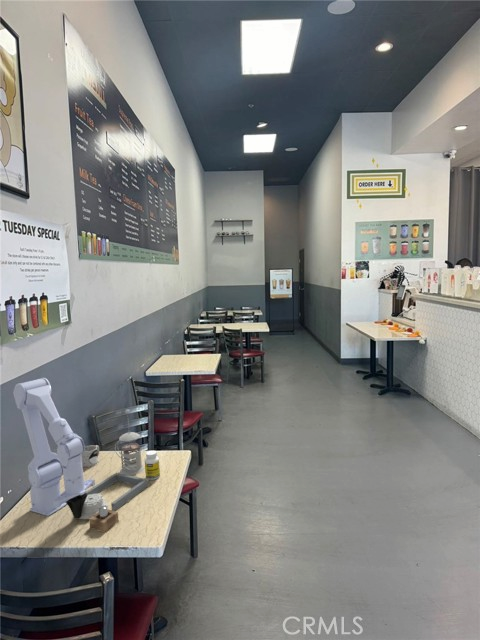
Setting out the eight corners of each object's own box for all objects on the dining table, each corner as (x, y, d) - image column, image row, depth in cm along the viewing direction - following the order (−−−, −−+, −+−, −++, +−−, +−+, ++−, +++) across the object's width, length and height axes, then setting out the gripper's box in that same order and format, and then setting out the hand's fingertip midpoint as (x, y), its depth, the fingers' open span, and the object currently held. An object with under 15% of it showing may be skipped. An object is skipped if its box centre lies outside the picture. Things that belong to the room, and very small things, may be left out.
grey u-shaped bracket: (80, 502, 138) (80, 495, 137) (116, 479, 153) (115, 472, 153) (114, 511, 131) (113, 503, 131) (148, 485, 147) (147, 479, 146)
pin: (98, 525, 123) (97, 509, 123) (104, 521, 125) (103, 504, 125) (104, 527, 122) (103, 510, 122) (110, 523, 124) (108, 506, 124)
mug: (92, 467, 165) (91, 452, 164) (78, 466, 166) (76, 451, 166) (105, 457, 174) (104, 442, 174) (92, 456, 176) (91, 441, 175)
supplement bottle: (146, 481, 150) (144, 456, 149) (145, 475, 155) (143, 451, 154) (160, 478, 151) (158, 454, 151) (159, 472, 157) (157, 448, 156)
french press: (136, 476, 154) (130, 414, 152) (110, 473, 158) (105, 412, 156) (149, 465, 164) (144, 406, 161) (125, 463, 167) (120, 405, 165)
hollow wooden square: (89, 527, 122) (89, 518, 122) (104, 517, 128) (103, 508, 128) (104, 532, 120) (103, 522, 120) (118, 521, 125) (117, 512, 125)
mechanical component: (69, 518, 128) (96, 521, 126) (68, 505, 128) (95, 508, 125) (88, 502, 138) (113, 504, 135) (86, 489, 138) (112, 492, 135)
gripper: (63, 489, 117) (67, 533, 119) (100, 468, 130) (103, 507, 132) (47, 485, 120) (51, 528, 122) (84, 465, 133) (88, 503, 135)
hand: (77, 517), depth 127 cm, fingers closed
